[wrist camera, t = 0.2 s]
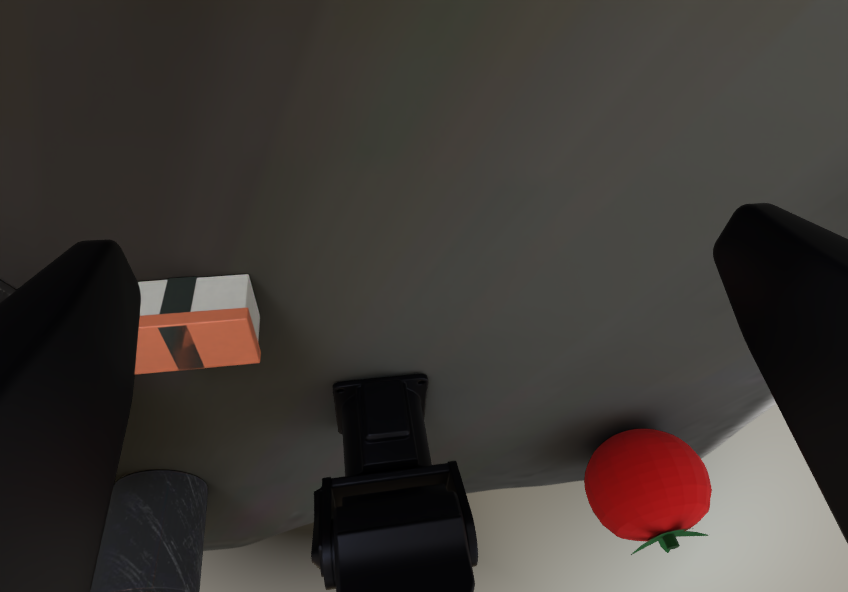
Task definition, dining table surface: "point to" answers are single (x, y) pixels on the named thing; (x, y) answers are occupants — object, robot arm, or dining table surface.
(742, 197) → the dining table surface
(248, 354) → the sushi
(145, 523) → the travel mug
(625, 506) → the tomato
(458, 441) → the dining table surface
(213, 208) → the dining table surface
